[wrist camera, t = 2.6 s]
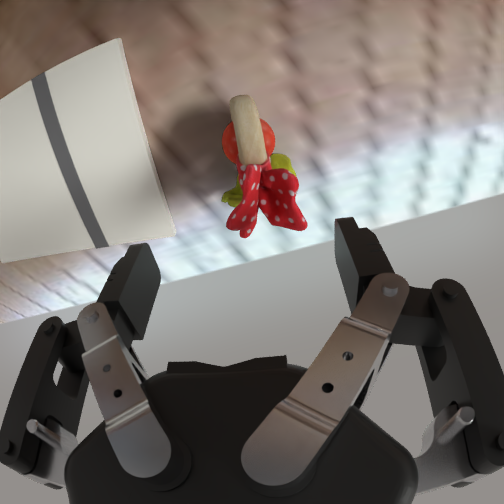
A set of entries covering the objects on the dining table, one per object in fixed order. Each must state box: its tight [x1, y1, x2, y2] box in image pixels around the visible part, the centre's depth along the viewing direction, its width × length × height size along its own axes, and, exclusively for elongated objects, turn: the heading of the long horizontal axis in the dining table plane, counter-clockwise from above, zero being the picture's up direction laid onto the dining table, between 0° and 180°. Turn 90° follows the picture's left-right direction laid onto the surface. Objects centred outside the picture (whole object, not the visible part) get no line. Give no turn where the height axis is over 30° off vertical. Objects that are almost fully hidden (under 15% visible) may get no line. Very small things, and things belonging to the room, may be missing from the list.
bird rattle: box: [222, 95, 307, 238], centre depth 19 cm, size 6×11×9 cm
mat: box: [0, 38, 176, 263], centre depth 24 cm, size 18×26×1 cm
